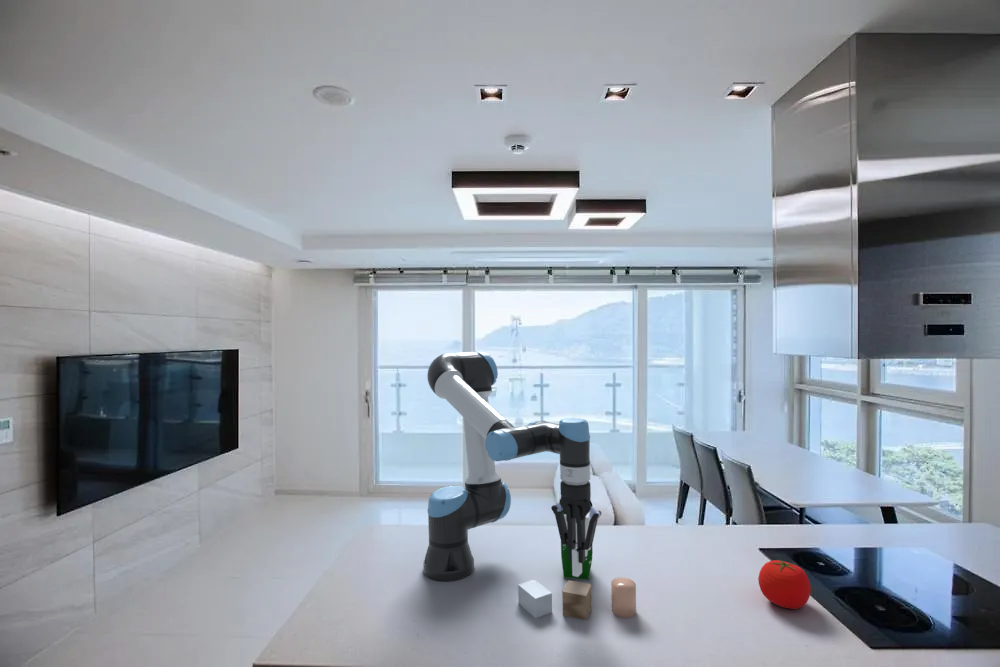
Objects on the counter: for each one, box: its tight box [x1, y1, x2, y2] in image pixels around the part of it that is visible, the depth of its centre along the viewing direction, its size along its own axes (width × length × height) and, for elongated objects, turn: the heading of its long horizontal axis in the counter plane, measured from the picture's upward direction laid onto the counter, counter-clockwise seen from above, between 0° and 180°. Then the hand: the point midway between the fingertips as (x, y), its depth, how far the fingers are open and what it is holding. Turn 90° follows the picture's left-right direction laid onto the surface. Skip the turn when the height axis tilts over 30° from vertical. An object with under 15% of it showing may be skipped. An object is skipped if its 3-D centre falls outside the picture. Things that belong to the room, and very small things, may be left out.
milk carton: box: [560, 510, 593, 581], centre depth 145 cm, size 9×9×20 cm
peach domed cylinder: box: [610, 577, 637, 619], centre depth 126 cm, size 6×6×7 cm
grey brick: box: [517, 579, 553, 619], centre depth 128 cm, size 8×5×5 cm, turn 30°
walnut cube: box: [561, 579, 593, 621], centre depth 126 cm, size 6×6×6 cm
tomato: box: [757, 559, 812, 610], centre depth 128 cm, size 11×12×10 cm
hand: (577, 573), depth 126 cm, fingers closed
